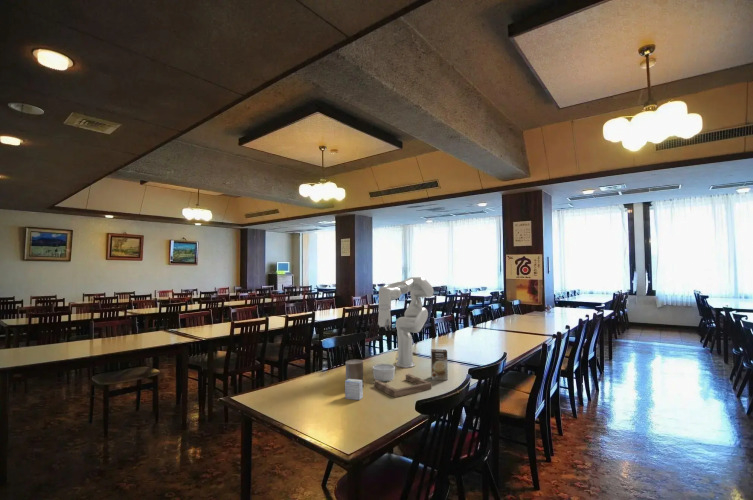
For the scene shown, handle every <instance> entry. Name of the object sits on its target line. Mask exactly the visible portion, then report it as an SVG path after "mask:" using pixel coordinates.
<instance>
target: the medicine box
mask: <svg viewBox="0 0 753 500" xmlns="http://www.w3.org/2000/svg"><path fill="white" fill-rule="evenodd" d="M363 385H364V382H363V383H362V380H357V379H348V380H346V379H345V381H344V397H345V398H344V399H345V400H355V401H361V400H362V399H363V397H364V394H363V391H364V389H363V388H364V387H363Z"/></svg>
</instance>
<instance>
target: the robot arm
mask: <svg viewBox="0 0 753 500" xmlns="http://www.w3.org/2000/svg"><path fill="white" fill-rule="evenodd" d="M409 292H410V303H409V305H408V306H407V308H406V310H405V311H404V313H403V314H404V316H400V317H398V318H397V319H396V321H395V328H396V330H397V331H396V334H397V357H396V358H395V360H396V361H397V362H396V363H395V367H398V368H406V369H407V368H412V367H415V366H416V362H413V360H414V359H413V337H412V335H411V333H415V334H417V333H420V332H421V331H422V329H423V327H424V326H425V323H426V322H427V320H428V316H429V312H428V309H427V308H426V307H423V302H422V301H421V299H420V298H427V299H428V298H431V297H433V295H434V293H435V292H434V288H433V286H432V285H431V283H430V282H429V281H428V280H427V279H425V277H419V276H417V277H414V276H413V277H408V278H406V279H404V280H401V281H397V282H393V283H388V284H386V285H383V286H381V287H379V288H378V319H377V320H378V322H377V324H378V326H379V327H378V328H379V329H378V330H379V333H378V334H379V335H380V336H384V337H385V338H391V330H392V329H391V328H392V321H391V320H392V319H391V311H392V300H397V299H399V298H400V297H401V295H404V294H407V293H409Z"/></svg>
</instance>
